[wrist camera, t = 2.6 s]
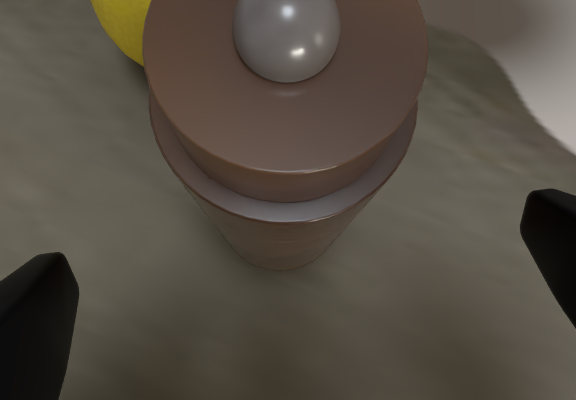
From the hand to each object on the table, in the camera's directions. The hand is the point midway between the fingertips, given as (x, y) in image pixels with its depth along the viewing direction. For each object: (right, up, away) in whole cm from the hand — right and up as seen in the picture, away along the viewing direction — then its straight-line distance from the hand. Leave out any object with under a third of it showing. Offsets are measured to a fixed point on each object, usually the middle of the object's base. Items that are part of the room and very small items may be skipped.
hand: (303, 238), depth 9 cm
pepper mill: (-1, 0, +11) cm, 11 cm away
